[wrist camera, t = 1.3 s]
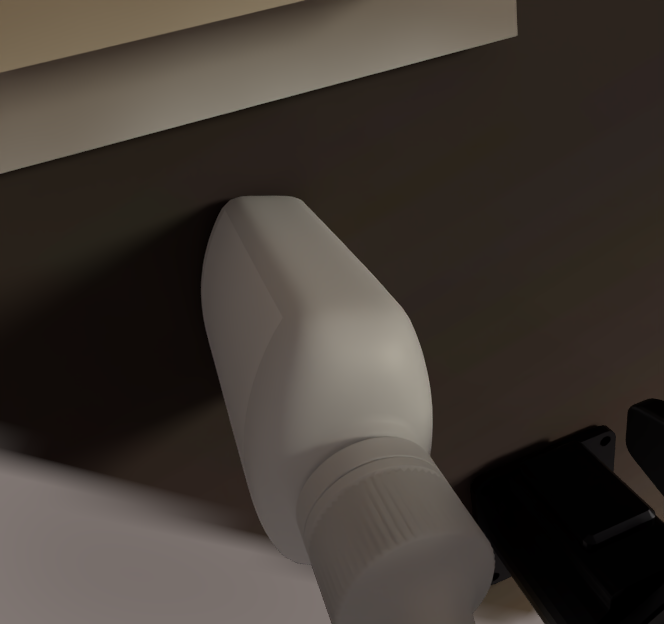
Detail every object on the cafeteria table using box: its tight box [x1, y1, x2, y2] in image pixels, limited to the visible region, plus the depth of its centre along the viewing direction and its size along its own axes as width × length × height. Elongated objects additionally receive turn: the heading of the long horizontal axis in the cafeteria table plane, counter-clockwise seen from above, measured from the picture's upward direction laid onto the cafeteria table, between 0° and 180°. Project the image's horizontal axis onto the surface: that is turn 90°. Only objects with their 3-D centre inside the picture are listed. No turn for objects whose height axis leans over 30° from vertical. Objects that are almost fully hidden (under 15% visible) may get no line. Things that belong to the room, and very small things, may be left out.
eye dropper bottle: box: [201, 196, 495, 624], centre depth 12 cm, size 4×6×12 cm
